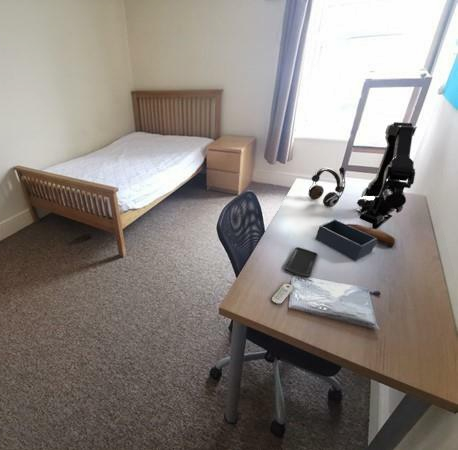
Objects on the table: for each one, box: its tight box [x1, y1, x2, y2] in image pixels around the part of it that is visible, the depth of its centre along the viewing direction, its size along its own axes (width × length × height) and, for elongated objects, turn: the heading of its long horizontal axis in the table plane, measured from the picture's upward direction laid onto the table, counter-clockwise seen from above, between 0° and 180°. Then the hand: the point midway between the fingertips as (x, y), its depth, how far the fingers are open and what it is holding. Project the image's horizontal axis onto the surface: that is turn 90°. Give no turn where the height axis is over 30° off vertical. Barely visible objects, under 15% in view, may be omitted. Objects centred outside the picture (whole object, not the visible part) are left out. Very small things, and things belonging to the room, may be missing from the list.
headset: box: [308, 166, 346, 208], centre depth 133 cm, size 17×8×20 cm, turn 20°
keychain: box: [271, 283, 294, 305], centre depth 88 cm, size 10×1×3 cm
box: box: [315, 218, 378, 262], centre depth 106 cm, size 10×16×6 cm, turn 28°
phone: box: [284, 246, 319, 279], centre depth 100 cm, size 8×1×15 cm
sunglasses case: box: [346, 223, 396, 248], centre depth 112 cm, size 18×7×7 cm
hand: (373, 229), depth 114 cm, fingers closed
